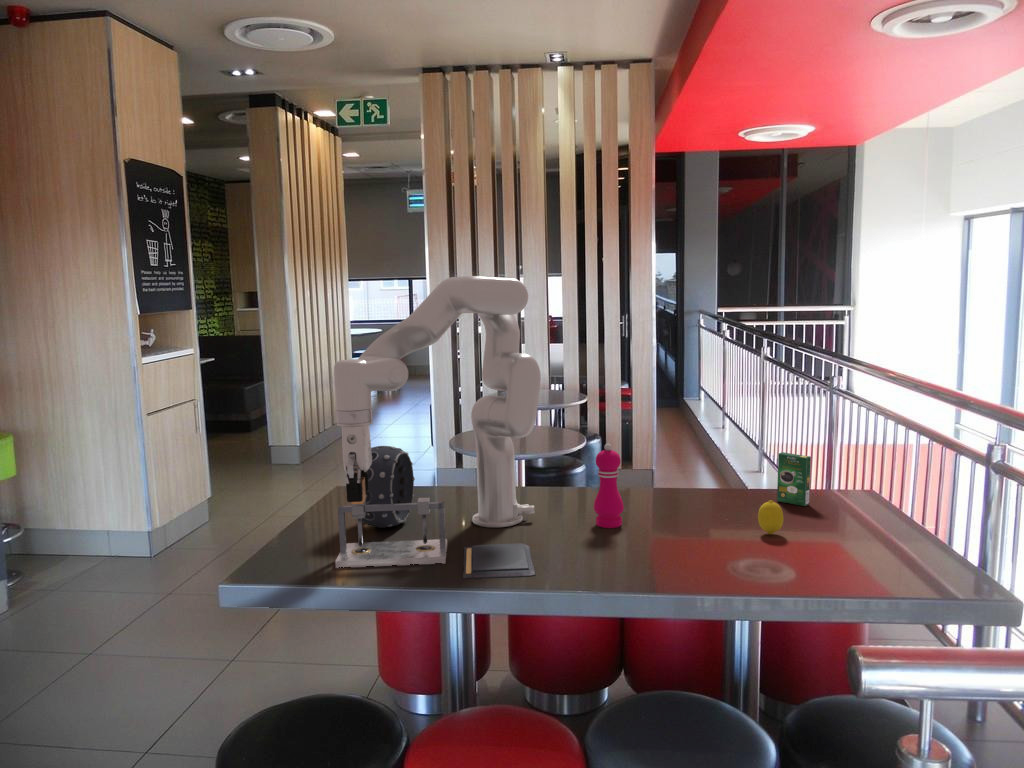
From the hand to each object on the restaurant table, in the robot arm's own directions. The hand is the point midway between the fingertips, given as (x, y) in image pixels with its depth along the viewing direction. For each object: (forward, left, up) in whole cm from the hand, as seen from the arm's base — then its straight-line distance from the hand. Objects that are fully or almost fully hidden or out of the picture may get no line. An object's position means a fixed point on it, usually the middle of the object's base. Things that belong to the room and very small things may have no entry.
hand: (358, 495), depth 165 cm
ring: (-3, -24, -14) cm, 28 cm away
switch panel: (-7, 0, -14) cm, 16 cm away
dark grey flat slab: (-30, +6, -15) cm, 34 cm away
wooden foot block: (0, 0, -11) cm, 11 cm away
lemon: (-93, -4, -14) cm, 94 cm away
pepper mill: (-58, -17, -14) cm, 62 cm away
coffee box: (-109, -29, -14) cm, 113 cm away
